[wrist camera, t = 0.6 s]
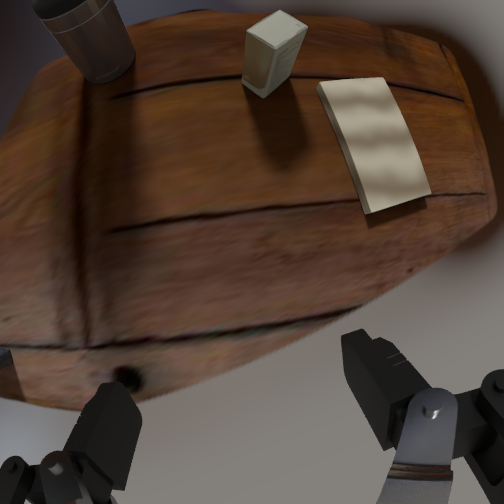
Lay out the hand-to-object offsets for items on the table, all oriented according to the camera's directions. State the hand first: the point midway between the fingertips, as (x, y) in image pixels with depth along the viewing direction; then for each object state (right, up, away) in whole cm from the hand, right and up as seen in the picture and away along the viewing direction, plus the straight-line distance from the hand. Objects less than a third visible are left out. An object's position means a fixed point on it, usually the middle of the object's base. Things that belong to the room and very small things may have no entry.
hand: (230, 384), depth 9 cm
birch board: (+19, +21, +29) cm, 40 cm away
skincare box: (+3, +29, +27) cm, 40 cm away
